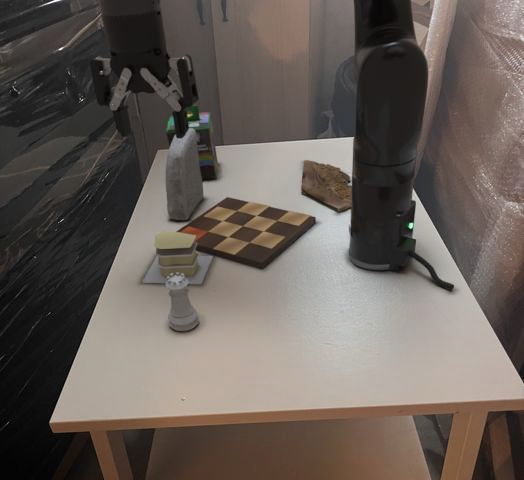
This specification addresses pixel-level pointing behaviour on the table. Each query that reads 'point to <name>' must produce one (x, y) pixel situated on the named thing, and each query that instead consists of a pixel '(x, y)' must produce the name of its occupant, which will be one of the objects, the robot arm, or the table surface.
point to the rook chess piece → (180, 304)
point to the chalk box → (200, 140)
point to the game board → (247, 231)
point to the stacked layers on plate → (177, 258)
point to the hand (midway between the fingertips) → (153, 135)
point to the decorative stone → (183, 176)
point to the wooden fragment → (327, 184)
